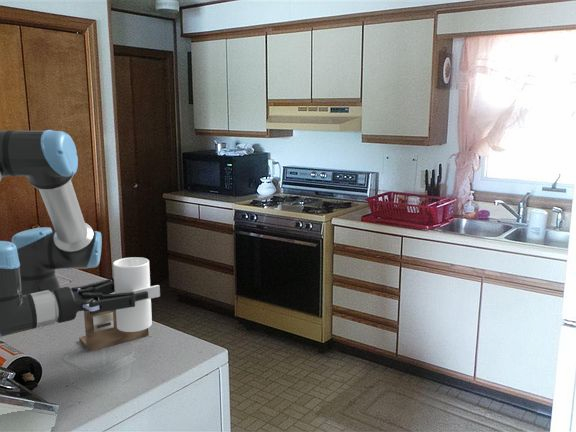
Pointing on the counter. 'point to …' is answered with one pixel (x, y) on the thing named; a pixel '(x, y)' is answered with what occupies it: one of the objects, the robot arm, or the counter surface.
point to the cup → (126, 279)
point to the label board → (105, 331)
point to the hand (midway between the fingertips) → (151, 285)
